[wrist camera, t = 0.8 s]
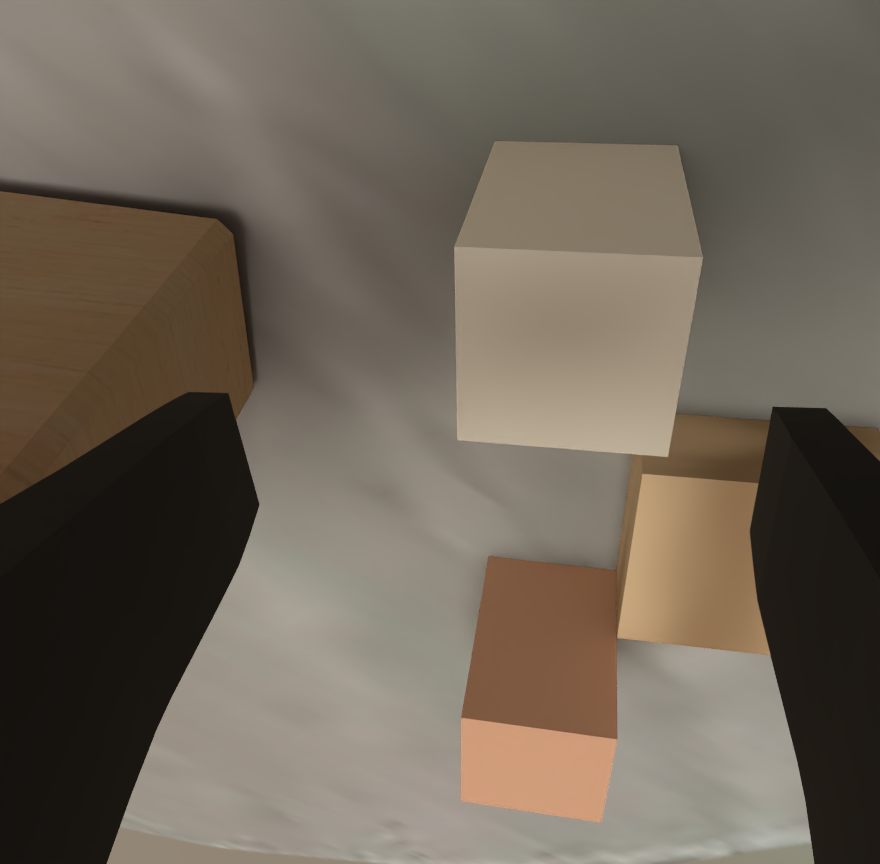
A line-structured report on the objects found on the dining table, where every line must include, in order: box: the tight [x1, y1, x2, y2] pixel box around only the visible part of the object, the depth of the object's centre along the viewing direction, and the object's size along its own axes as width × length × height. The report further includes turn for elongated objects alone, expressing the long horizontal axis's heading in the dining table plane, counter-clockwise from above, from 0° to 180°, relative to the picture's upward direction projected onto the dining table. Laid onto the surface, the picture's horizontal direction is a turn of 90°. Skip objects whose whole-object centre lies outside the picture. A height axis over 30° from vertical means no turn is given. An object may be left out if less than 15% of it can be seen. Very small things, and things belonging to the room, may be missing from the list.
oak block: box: [616, 414, 880, 655], centre depth 22 cm, size 6×6×3 cm
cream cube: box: [454, 141, 703, 457], centre depth 17 cm, size 4×4×6 cm
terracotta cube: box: [461, 557, 617, 823], centre depth 24 cm, size 4×4×6 cm
